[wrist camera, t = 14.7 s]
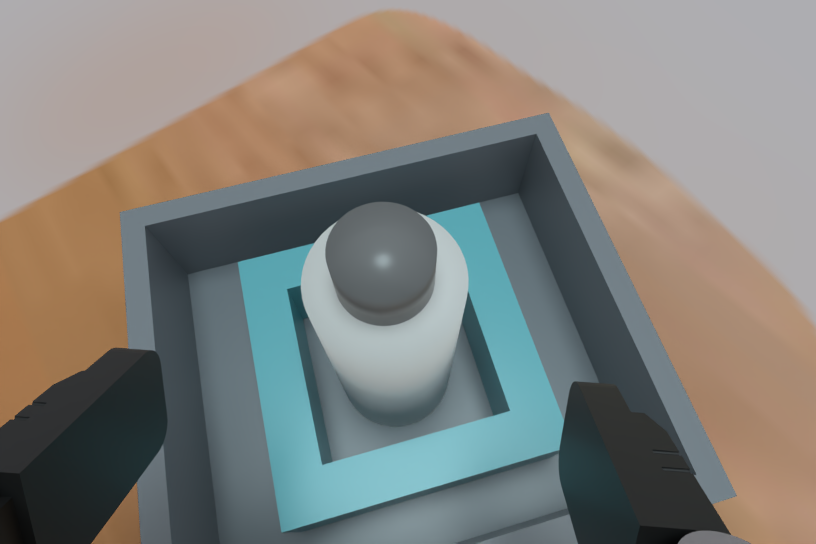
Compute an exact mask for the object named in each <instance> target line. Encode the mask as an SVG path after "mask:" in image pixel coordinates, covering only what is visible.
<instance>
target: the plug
mask: <svg viewBox="0 0 816 544" xmlns="http://www.w3.org/2000/svg"><path fill="white" fill-rule="evenodd" d="M468 282H469V277H468V269H467V265H466V261H465V258H464V256H463V253H462V251H461V249H460V247H459V246H458V244H457V242H456V241H455V240H454V238H453V237H452V236H451V235H450V233H449V232H447V231H446V230H445V229H444V228H443V227H442V226H441V225H439V224H438V223H437V222H435V221H434V220H432V219H430V218H429V217H427V216H425V215H423V214H420V213H418V212H416V211H414V210H412V209H411V208H409V207H406V206H404V205H401V204H397V203H392V202H373V203H368V204H364V205H361V206H359V207H356V208H354V209H353V210H351V211H349V212H348V213H346V214H345V215H344V216H343V217H341V218H340V219H339V220H338V221H337V222H336V223H334V224H333V225H332V226H330V227H329V228H328V229H327V230H326V231H325V232H324V233H322V235H321V236H320V237H319V238H318V239H317V240H316V242H315V243H314V245H313V246H312V248H311V249H310V251H309V253H308V255H307V258H306V260H305V263H304V266H303V270H302V276H301V294H302V300H303V304H304V307H305V310H306V312H307V315H308V317H309V319H310V321H311V323H312V325H313V327H314V329H315V331H316V333H317V335H318V337H319V339H320V341H321V343H322V345H323V348H324V350H325V352H326V354H327V356H328V358H329V360H330V362H331V364H332V366H333V368H334V370H335V372H336V374H337V376H338V378H339V380H340V382H341V384H342V386H343V388H344V390H345V392H346V394H347V396H348V398H349V400H350V402H351V403H352V405H353V406H354V407H355V409H356V410H357V411H358V412H359V413H361V414H362V415H363V416H364V417H366V418H367V419H369V420H371V421H373V422H375V423H378V424H381V425H386V426H405V425H409V424H412V423H415V422H418V421H420V420H422V419H423V418H425V417H426V416H428V415H429V414H430V413H431V412H432V411H433V410H434V409H435V408H436V407H437V406H438V405H439V403H440V402H441V400H442V398H443V396H444V394H445V392H446V389H447V385H448V381H449V376H450V372H451V367H452V362H453V358H454V353H455V349H456V344H457V340H458V335H459V331H460V326H461V322H462V317H463V313H464V308H465V304H466V299H467V293H468Z"/></svg>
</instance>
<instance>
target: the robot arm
mask: <svg viewBox="0 0 816 544" xmlns="http://www.w3.org/2000/svg"><path fill="white" fill-rule="evenodd" d="M167 423H168V419H167V410H166V401H165V393H164V385H163V377H162V369H161V361H160V358H159V355H158V354H157V353H156V352H155V351H153V350H141V349H127V348H113V349H111V350H109V351H108V352H107V353H106V354H104V355H103V356H102V357H101V358H100V359H98V360H97V361H96V362H95V363H94V364H92V365H91V366H90V367H89V368H88V369H87V370H85V371H81V372H79V373H77V374H75V375H72V376H70V377H68V378H66V379H64V380H62V381H60V382H58V383H56V384H54V385H52V386H51V387H50V388H49V389H48V390H46V391H45V392H44V393H43V394H41V395H40V396H39V397H38V398H36V399H35V400H34V401H33V403H32V405H28V406H27V407H25V408H24V409H23V410H22V411H20V412H19V413H18V414H17V415H15V419H14V420H9V421H8V422H7V423H6V424H4V425H3V426H2V427H1V428H0V544H91V543H92V541H93V540H94V539H95V537H96V536H97V535H98V533H99V532H100V531H101V529H102V528H103V526H104V525H105V524H106V522H107V521H108V520H109V518H110V517H111V516H112V514H113V513H114V512H115V510H116V509H117V508H118V506H119V505H120V504H121V502H122V501H123V499H124V498H125V497H126V495H127V494H128V493H129V491H130V490H131V489H132V487H133V486H134V485H135V483H136V482H137V481H138V479H139V478H140V477H141V475H142V474H143V472H144V471H145V470H146V468H147V467H148V466H149V464H150V463H151V462H152V460H153V459H154V458H155V456H156V455H157V454H158V452H159V451H160V449H161V447H162V445H163V442H164V440H165V436H166V432H167ZM559 477H560V483H561V487H562V490H563V494H564V497H565V501H566V504H567V508H568V511H569V514H570V518H571V521H572V525H573V528H574V532H575V535H576V539H577V542H578V544H751V543H749V542H747V541H745V540H742V539H740V538H738V537H735V536H732V535H731V534H730V532H729V531H728V529H727V528H726V526H725V524H724V523H723V521H722V519H721V518H720V516H719V515H718V513H717V511H716V510H715V508H714V507H713V505H712V503H711V502H710V500H709V499H708V497H707V495H706V494H705V492H704V491H703V489H702V487H701V486H700V484H699V483H698V481H697V479H696V478H695V476H694V475H693V473H690V468H689V466H688V465H687V463H686V462H685V460H684V458H683V457H682V456H679V450H678V449H677V447H676V446H675V444H674V442H673V441H672V439H671V438H670V436H669V434H668V433H667V431H666V430H665V429H663V428H662V427H661V426H660V425H658V424H657V423H656V422H655V421H653V420H652V419H651V418H650V417H649V416H647V415H646V414H645V413H638V412H631V411H630V409H629V407H628V406H627V404H626V402H625V400H624V398H623V396H622V395H621V393H620V391H619V389H618V388H617V386H616V385H615V384H606V383H592V382H578V381H574V382H573V383H572V385H571V387H570V391H569V396H568V401H567V407H566V413H565V419H564V425H563V431H562V436H561V442H560V448H559Z"/></svg>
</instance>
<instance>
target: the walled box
mask: <svg viewBox="0 0 816 544" xmlns="http://www.w3.org/2000/svg"><path fill="white" fill-rule="evenodd" d="M373 202H392V203H397V204H401V205H404V206H406V207H409V208H411V209H412V210H414V211H416V212H418V213H420V214H423V215H425V216H427V217H429V218H430V219H432V220H434V221H435V222H437V223H438V224H439V225H441V226H442V227H443V228H444V229H445V230H446V231H447V232H449V233H450V235H451V236H452V237H453V238H454V240H455V241H456V242H457V244H458V246H459V247H460V249H461V251H462V253H463V256H464V258H465V261H466V265H467V269H468V277H469V282H468V293H467V299H466V304H465V308H464V313H463V317H462V322H461V326H460V331H459V335H458V340H457V344H456V349H455V353H454V358H453V362H452V367H451V372H450V376H449V381H448V385H447V389H446V392H445V394H444V396H443V398H442V400H441V402H440V403H439V405H438V406H437V407H436V408H435V409H434V410H433V411H432V412H431V413H430V414H429V415H428V416H426V417H425V418H423V419H422V420H420V421H418V422H415V423H412V424H409V425H405V426H386V425H381V424H378V423H375V422H373V421H371V420H369V419H367V418H366V417H364V416H363V415H362V414H361V413H359V412H358V411H357V410H356V409H355V407H354V406H353V405H352V403H351V402H350V400H349V398H348V396H347V394H346V392H345V390H344V388H343V386H342V384H341V382H340V380H339V378H338V376H337V374H336V372H335V370H334V368H333V366H332V364H331V362H330V360H329V358H328V356H327V354H326V352H325V350H324V348H323V345H322V343H321V341H320V339H319V337H318V335H317V333H316V331H315V329H314V327H313V325H312V323H311V321H310V319H309V317H308V315H307V312H306V310H305V307H304V304H303V300H302V294H301V276H302V270H303V266H304V263H305V260H306V258H307V255H308V253H309V251H310V249H311V248H312V246H313V245H314V243H315V242H316V240H317V239H318V238H319V237H320V236H321V235H322V233H324V232H325V231H326V230H327V229H328V228H329V227H330V226H332V225H333V224H334V223H336V222H337V221H338V220H339V219H340V218H341V217H343V216H344V215H345V214H346V213H348V212H349V211H351V210H353V209H354V208H356V207H359V206H361V205H364V204H368V203H373ZM120 221H121V237H122V253H123V269H124V284H125V300H126V316H127V331H128V347H129V349H141V350H153V351H155V352H156V353H157V354H158V355H159V358H160V361H161V369H162V377H163V385H164V393H165V401H166V410H167V419H168V423H167V432H166V436H165V440H164V442H163V445H162V447H161V449H160V451H159V452H158V454H157V455H156V456H155V458H154V459H153V460H152V462H151V463H150V464H149V466H148V467H147V468H146V470H145V471H144V472H143V474H142V475H141V477H140V478H139V479H138V481H137V488H138V504H139V520H140V535H141V544H578V542H577V539H576V535H575V532H574V528H573V525H572V521H571V518H570V514H569V511H568V508H567V504H566V501H565V497H564V494H563V490H562V487H561V483H560V477H559V448H560V442H561V436H562V431H563V425H564V419H565V413H566V407H567V401H568V396H569V391H570V387H571V385H572V383H573V382H574V381H578V382H592V383H606V384H615V385H616V386H617V388H618V389H619V391H620V393H621V395H622V396H623V398H624V400H625V402H626V404H627V406H628V407H629V409H630V411H631V412H638V413H645V414H646V415H647V416H649V417H650V418H651V419H652V420H653V421H655V422H656V423H657V424H658V425H660V426H661V427H662V428H663V429H665V430H666V431H667V433H668V434H669V436H670V438H671V439H672V441H673V442H674V444H675V446H676V447H677V449H678V450H679V456H682V457H683V458H684V460H685V462H686V463H687V465H688V466H689V468H690V473H693V475H694V476H695V478H696V479H697V481H698V483H699V484H700V486H701V487H702V489H703V491H704V492H705V494H706V495H707V497H708V499H709V500H710V502H711V503H712V504H714V503H717V502H720V501H723V500H726V499H729V498H732V497H736V496H737V495H736V493H735V491H734V489H733V487H732V485H731V483H730V481H729V479H728V477H727V475H726V473H725V471H724V469H723V467H722V465H721V463H720V461H719V459H718V457H717V455H716V452H715V450H714V448H713V446H712V444H711V442H710V440H709V438H708V436H707V434H706V432H705V430H704V428H703V426H702V424H701V422H700V420H699V418H698V416H697V414H696V412H695V410H694V408H693V406H692V404H691V402H690V400H689V398H688V395H687V393H686V391H685V389H684V387H683V385H682V383H681V381H680V379H679V377H678V375H677V373H676V371H675V369H674V367H673V365H672V363H671V361H670V359H669V357H668V355H667V353H666V351H665V349H664V347H663V345H662V343H661V340H660V338H659V336H658V334H657V332H656V330H655V328H654V326H653V324H652V322H651V320H650V318H649V316H648V314H647V312H646V310H645V308H644V306H643V304H642V302H641V300H640V298H639V296H638V294H637V292H636V290H635V288H634V286H633V283H632V281H631V279H630V277H629V275H628V273H627V271H626V269H625V267H624V265H623V263H622V261H621V259H620V257H619V255H618V253H617V251H616V249H615V247H614V245H613V243H612V241H611V239H610V237H609V235H608V233H607V231H606V228H605V226H604V224H603V222H602V220H601V218H600V216H599V214H598V212H597V210H596V208H595V206H594V204H593V202H592V200H591V198H590V196H589V194H588V192H587V190H586V188H585V186H584V184H583V182H582V180H581V178H580V176H579V174H578V171H577V169H576V167H575V165H574V163H573V161H572V159H571V157H570V155H569V153H568V151H567V149H566V147H565V145H564V143H563V141H562V139H561V137H560V135H559V133H558V131H557V129H556V127H555V125H554V123H553V121H552V119H551V117H550V114H549V113H546V114H541V115H537V116H533V117H528V118H524V119H520V120H515V121H511V122H507V123H502V124H498V125H494V126H489V127H485V128H481V129H477V130H472V131H468V132H464V133H459V134H455V135H451V136H446V137H442V138H438V139H433V140H429V141H425V142H420V143H416V144H412V145H408V146H403V147H399V148H395V149H390V150H386V151H382V152H377V153H373V154H369V155H364V156H360V157H356V158H351V159H347V160H343V161H339V162H334V163H330V164H326V165H321V166H317V167H313V168H308V169H304V170H300V171H295V172H291V173H287V174H282V175H278V176H274V177H270V178H265V179H261V180H257V181H252V182H248V183H244V184H239V185H235V186H231V187H226V188H222V189H218V190H213V191H209V192H205V193H201V194H196V195H192V196H188V197H183V198H179V199H175V200H170V201H166V202H162V203H157V204H153V205H149V206H144V207H140V208H136V209H132V210H127V211H123V212H120Z"/></svg>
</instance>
